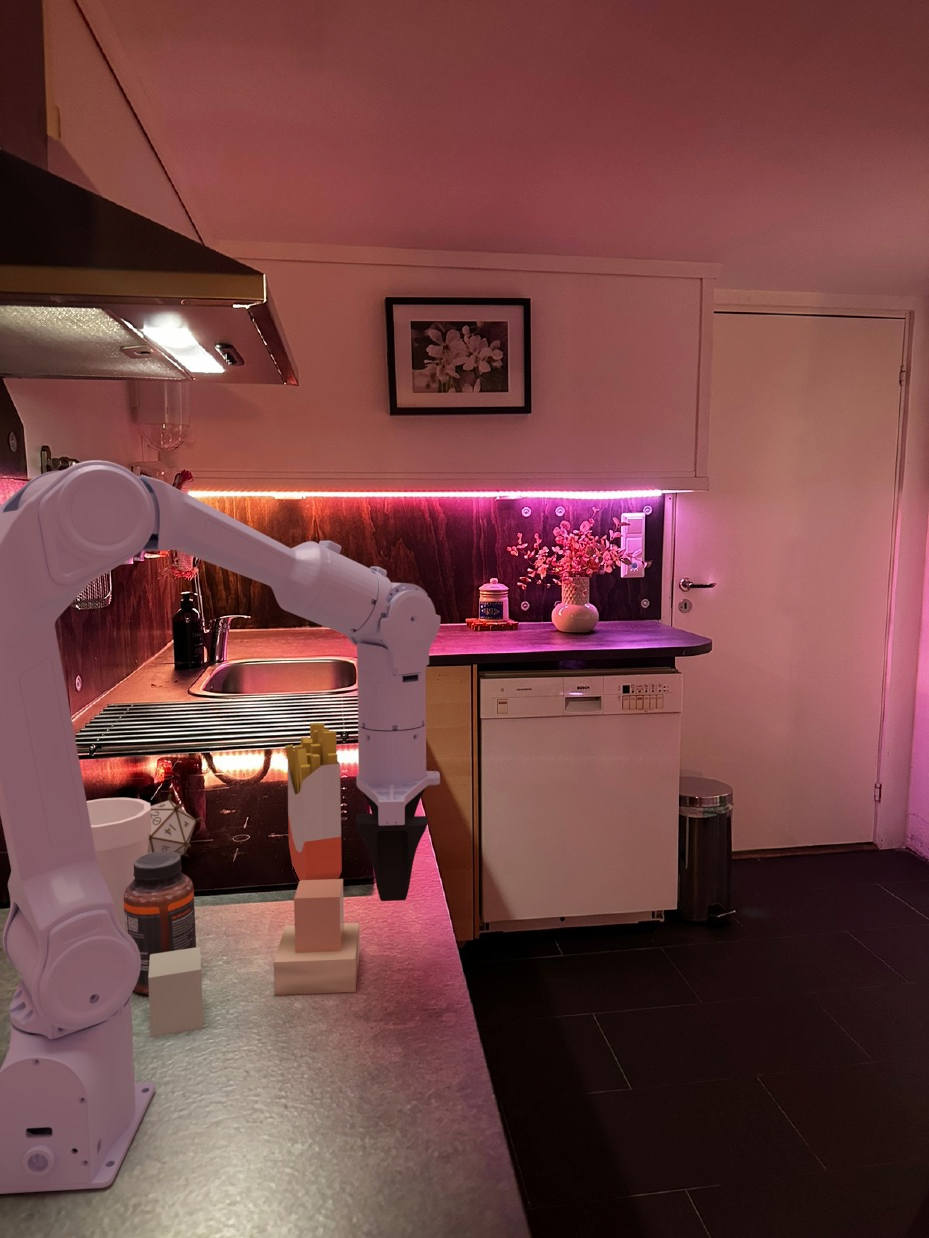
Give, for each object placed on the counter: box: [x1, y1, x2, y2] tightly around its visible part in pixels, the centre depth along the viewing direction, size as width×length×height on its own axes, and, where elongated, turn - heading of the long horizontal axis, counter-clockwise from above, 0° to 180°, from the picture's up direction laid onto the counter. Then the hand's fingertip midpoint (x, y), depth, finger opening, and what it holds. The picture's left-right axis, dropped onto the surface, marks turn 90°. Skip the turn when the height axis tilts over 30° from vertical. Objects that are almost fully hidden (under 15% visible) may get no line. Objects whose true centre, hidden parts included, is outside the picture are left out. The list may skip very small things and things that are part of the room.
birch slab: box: [273, 922, 361, 996], centre depth 75 cm, size 7×7×3 cm
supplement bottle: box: [124, 851, 197, 995], centre depth 74 cm, size 6×6×11 cm
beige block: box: [148, 946, 204, 1038], centre depth 68 cm, size 4×4×5 cm
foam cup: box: [86, 797, 151, 930], centre depth 82 cm, size 10×9×13 cm
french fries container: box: [284, 722, 343, 880], centre depth 97 cm, size 5×11×18 cm, turn 22°
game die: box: [147, 792, 204, 858], centre depth 102 cm, size 9×8×10 cm
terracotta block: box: [293, 878, 345, 953], centre depth 75 cm, size 4×4×5 cm
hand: (393, 880), depth 71 cm, fingers open, 7 cm apart
